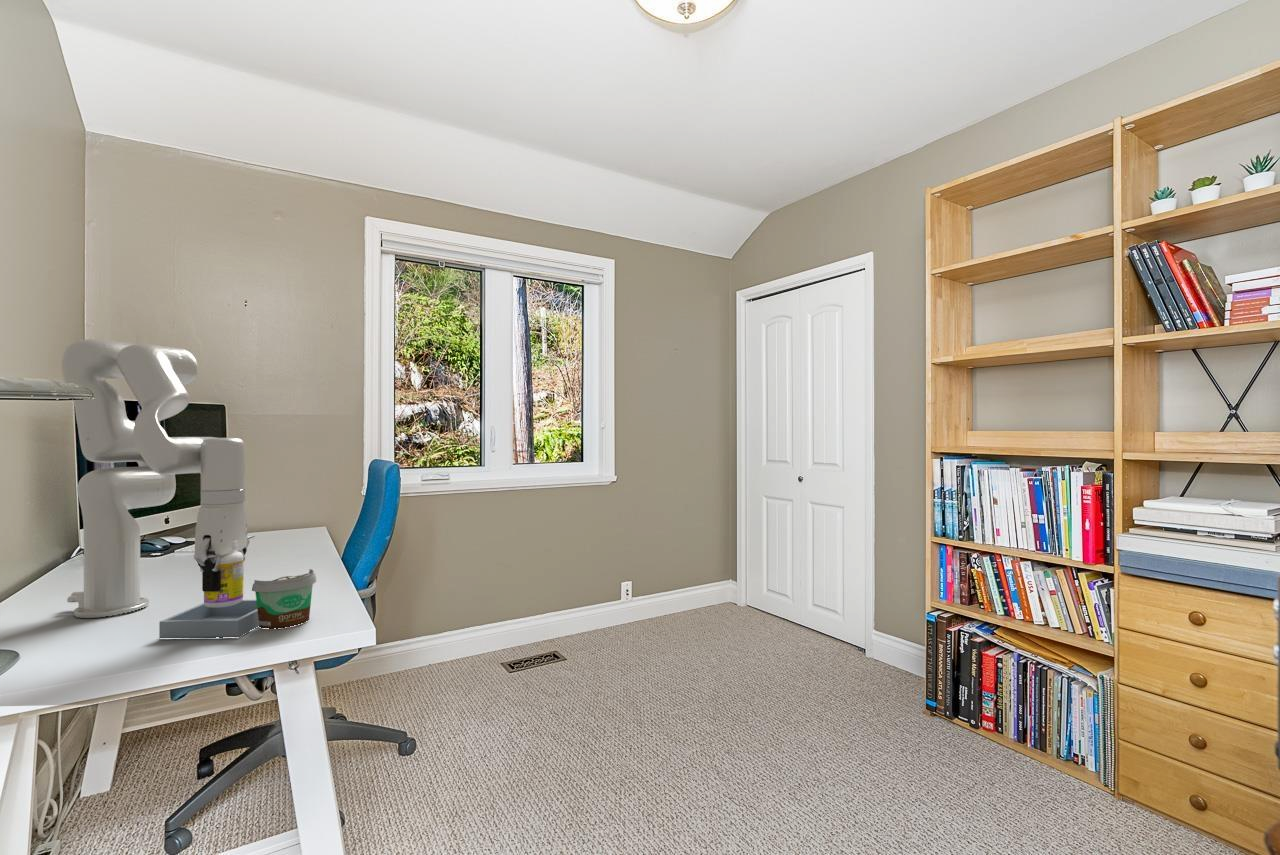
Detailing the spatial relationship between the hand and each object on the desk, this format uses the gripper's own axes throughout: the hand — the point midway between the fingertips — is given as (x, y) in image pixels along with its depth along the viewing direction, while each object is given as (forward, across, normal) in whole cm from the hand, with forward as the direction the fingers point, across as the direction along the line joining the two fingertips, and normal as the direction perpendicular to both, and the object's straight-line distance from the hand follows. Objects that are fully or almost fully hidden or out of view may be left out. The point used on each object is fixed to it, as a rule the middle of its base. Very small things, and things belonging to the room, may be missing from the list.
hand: (223, 585), depth 124 cm
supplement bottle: (+4, 0, 0) cm, 4 cm away
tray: (+8, 0, 0) cm, 8 cm away
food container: (+9, -1, +13) cm, 16 cm away
